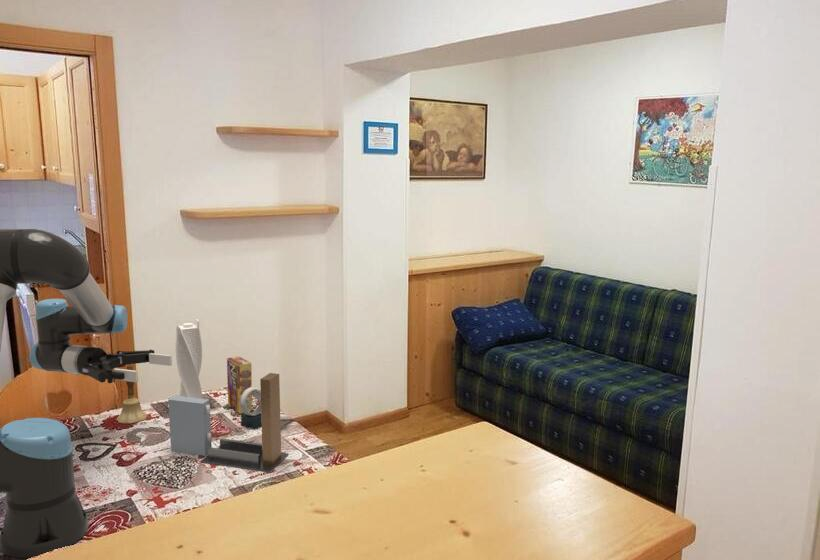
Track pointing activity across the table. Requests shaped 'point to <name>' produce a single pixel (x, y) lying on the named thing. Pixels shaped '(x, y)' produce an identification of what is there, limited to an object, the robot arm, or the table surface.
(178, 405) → the door panel
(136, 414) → the hand bell
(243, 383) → the candy box
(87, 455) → the table surface
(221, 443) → the base
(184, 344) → the skyscraper
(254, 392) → the watch
